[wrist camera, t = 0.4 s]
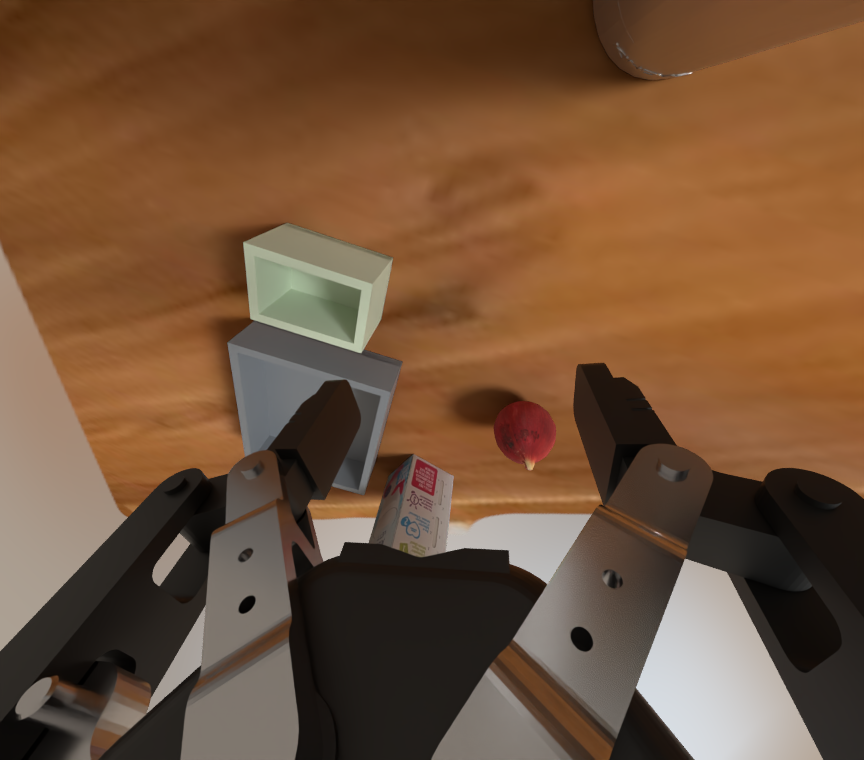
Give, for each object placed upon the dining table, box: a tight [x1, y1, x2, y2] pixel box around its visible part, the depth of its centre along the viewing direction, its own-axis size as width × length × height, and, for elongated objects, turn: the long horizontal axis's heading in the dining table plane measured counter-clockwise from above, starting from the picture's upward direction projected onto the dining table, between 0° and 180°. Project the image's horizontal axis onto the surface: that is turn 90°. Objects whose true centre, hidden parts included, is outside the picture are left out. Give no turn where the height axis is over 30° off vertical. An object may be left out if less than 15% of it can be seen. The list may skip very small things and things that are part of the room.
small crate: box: [243, 223, 393, 353], centre depth 26 cm, size 6×9×6 cm, turn 75°
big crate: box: [227, 321, 402, 495], centre depth 36 cm, size 18×15×5 cm
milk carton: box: [369, 454, 454, 557], centre depth 36 cm, size 7×7×22 cm
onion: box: [494, 401, 556, 470], centre depth 31 cm, size 6×6×8 cm
